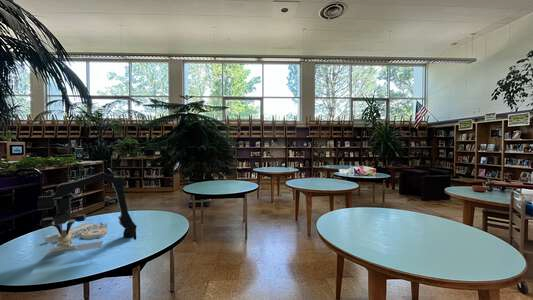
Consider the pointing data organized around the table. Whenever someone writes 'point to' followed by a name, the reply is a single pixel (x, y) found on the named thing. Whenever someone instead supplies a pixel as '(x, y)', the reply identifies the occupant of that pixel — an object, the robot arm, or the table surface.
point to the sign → (82, 232)
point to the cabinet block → (64, 240)
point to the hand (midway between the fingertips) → (64, 235)
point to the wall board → (74, 248)
